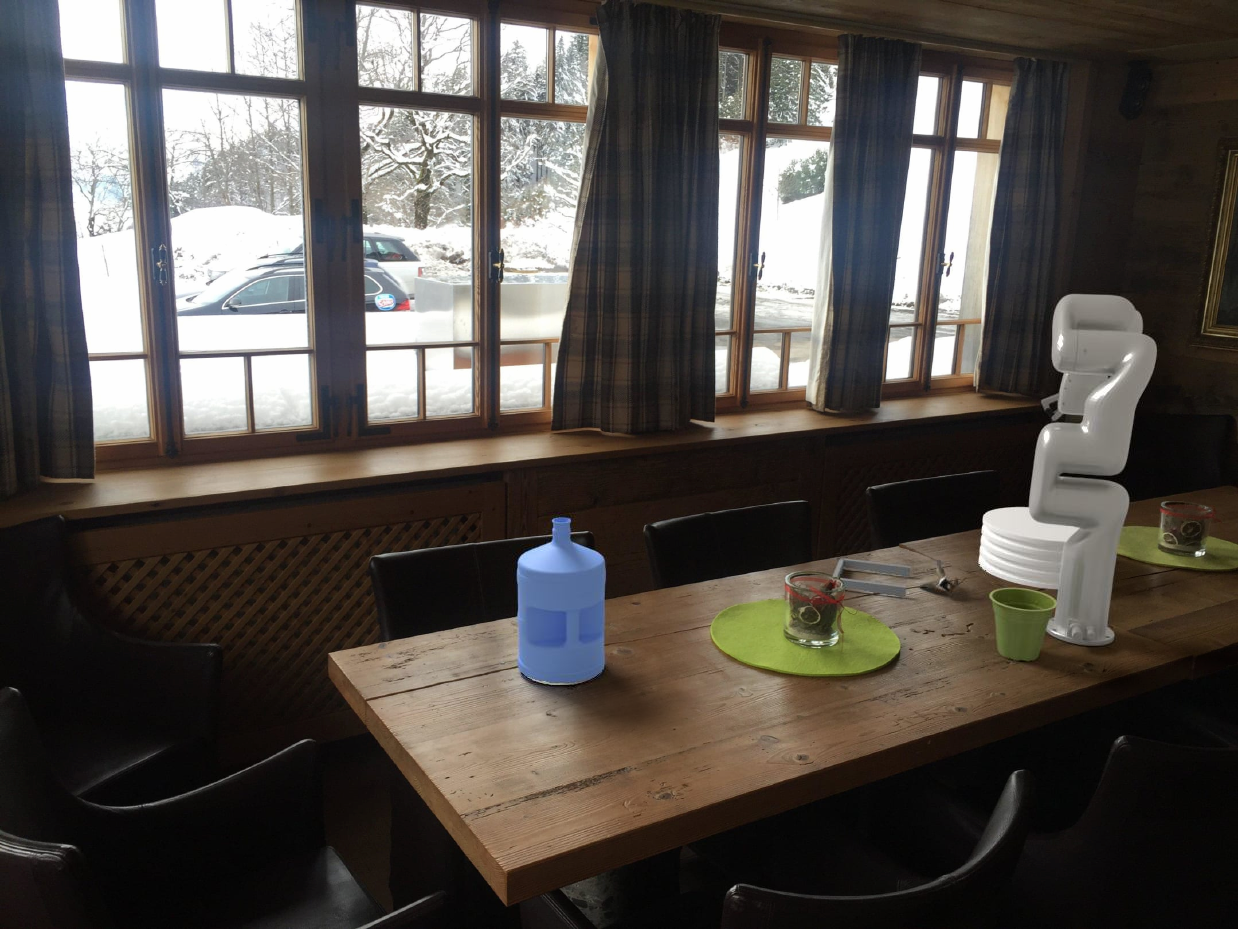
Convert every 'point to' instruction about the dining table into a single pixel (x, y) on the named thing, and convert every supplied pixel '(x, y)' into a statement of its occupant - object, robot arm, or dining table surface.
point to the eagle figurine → (942, 580)
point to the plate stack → (1022, 547)
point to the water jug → (561, 610)
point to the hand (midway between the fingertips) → (1077, 438)
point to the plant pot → (1021, 621)
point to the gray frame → (876, 567)
